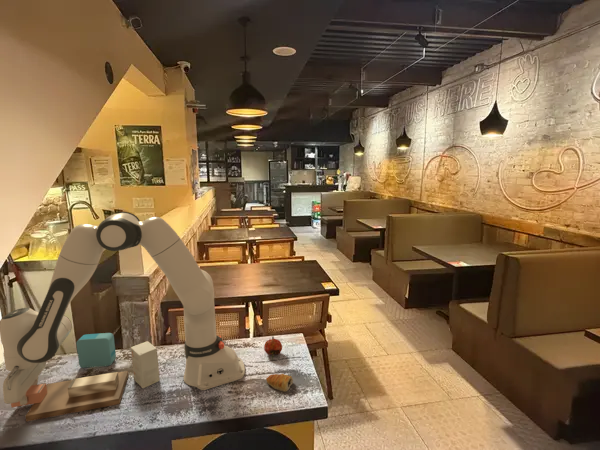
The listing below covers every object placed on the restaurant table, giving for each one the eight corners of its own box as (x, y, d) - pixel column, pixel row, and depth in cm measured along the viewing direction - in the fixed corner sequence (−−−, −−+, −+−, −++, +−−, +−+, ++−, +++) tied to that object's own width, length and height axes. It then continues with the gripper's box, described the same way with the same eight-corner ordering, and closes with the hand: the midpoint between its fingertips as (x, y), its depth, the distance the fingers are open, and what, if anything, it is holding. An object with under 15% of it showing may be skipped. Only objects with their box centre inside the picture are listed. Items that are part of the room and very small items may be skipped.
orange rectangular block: (47, 392, 114) (45, 383, 114) (41, 402, 110) (39, 392, 109) (19, 397, 112) (17, 387, 111) (11, 407, 107) (9, 397, 107)
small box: (160, 380, 123) (157, 348, 121) (142, 389, 119) (139, 355, 116) (150, 371, 129) (147, 340, 127) (133, 379, 124) (130, 347, 122)
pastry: (262, 387, 120) (262, 377, 119) (271, 376, 126) (271, 367, 125) (287, 393, 116) (286, 383, 116) (294, 382, 122) (294, 372, 122)
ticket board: (128, 375, 127) (127, 362, 126) (119, 404, 111) (117, 388, 110) (47, 389, 119) (45, 374, 118) (26, 421, 104) (23, 405, 103)
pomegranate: (282, 363, 137) (285, 339, 144) (278, 356, 132) (281, 332, 139) (265, 363, 139) (268, 340, 145) (260, 356, 133) (263, 332, 140)
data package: (116, 359, 137) (113, 332, 135) (112, 366, 133) (108, 338, 131) (85, 361, 136) (81, 334, 134) (79, 368, 131) (75, 340, 129)
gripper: (18, 375, 99) (25, 417, 102) (47, 341, 118) (53, 376, 121) (-8, 379, 97) (0, 421, 100) (26, 344, 117) (32, 380, 119)
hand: (29, 396), depth 111 cm, fingers closed on orange rectangular block, 5 cm apart
